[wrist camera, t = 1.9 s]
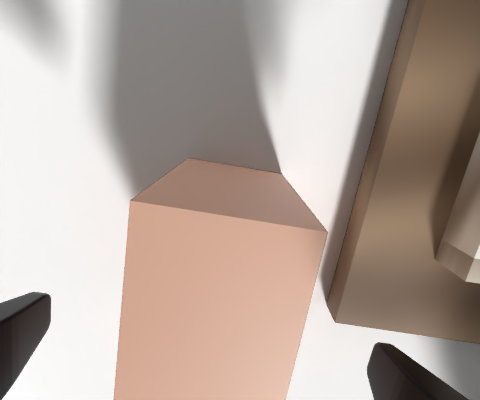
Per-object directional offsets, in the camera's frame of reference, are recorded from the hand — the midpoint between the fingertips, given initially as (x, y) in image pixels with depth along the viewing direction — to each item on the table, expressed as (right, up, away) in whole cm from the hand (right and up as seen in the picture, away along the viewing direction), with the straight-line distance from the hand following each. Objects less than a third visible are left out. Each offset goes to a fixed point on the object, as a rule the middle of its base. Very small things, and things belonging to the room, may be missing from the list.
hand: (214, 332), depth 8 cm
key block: (0, +2, +7) cm, 7 cm away
